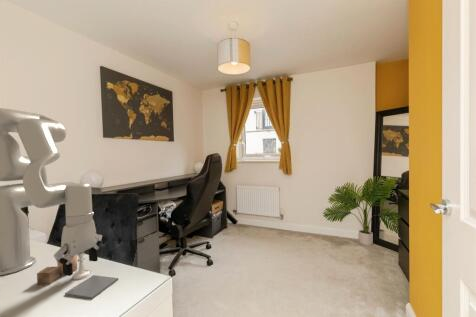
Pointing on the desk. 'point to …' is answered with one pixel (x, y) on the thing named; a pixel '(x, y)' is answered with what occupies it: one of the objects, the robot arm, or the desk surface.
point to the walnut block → (47, 275)
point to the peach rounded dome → (74, 262)
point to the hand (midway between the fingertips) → (81, 267)
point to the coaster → (91, 287)
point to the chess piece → (81, 268)
